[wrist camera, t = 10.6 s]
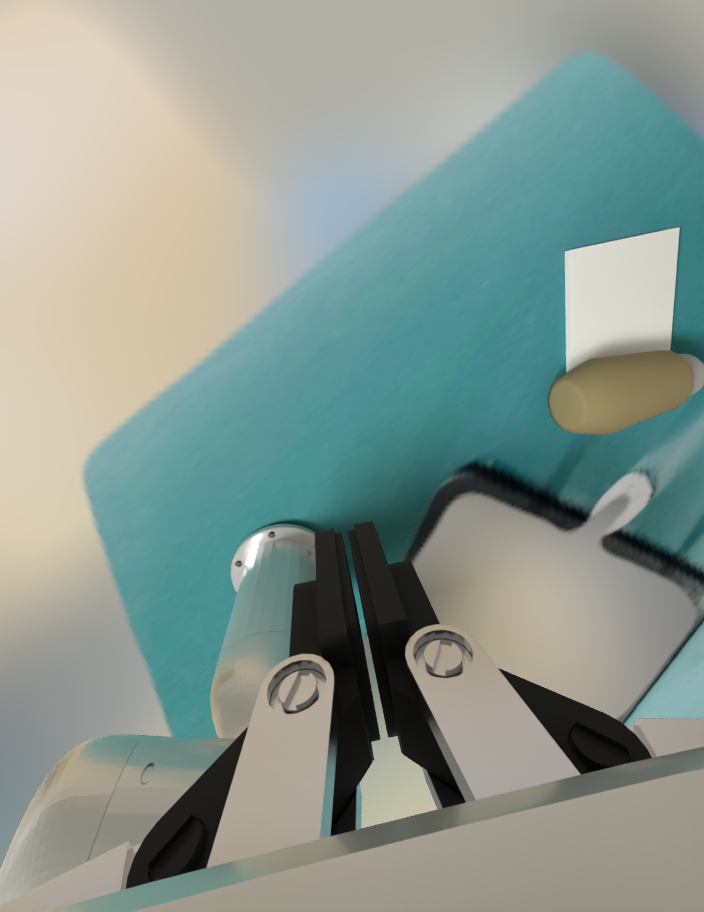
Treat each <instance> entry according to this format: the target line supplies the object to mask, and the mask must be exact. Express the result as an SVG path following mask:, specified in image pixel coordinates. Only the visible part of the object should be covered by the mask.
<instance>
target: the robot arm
mask: <svg viewBox="0 0 704 912" xmlns="http://www.w3.org/2000/svg"><path fill="white" fill-rule="evenodd" d="M354 528H355V530H351V531H348V536H349V541H350V546H351V551H352V556H353V562H354V567H355V572H356V577H357V582H358V588H359V593H360V598H361V603H362V608H363V614H364V619H365V624H366V629H367V634H368V639H369V643H370V649H371V654H372V659H373V664H374V669H375V673H376V679H377V683H378V689H379V693H380V699H381V703H382V708H383V713H384V718H385V724H386V729H387V734H388V737H394V736H398V739H399V744H400V748H401V752H402V753H403V754H404V755H405V756H407V757H408V758H409V759H411V760H412V761H414V762H415V763H417V764H418V765H420V766H421V767H423V772H424V775H425V779H426V782H427V784H428V787H429V789H430V792H431V794H432V797H433V799H434V802H435V804H436V806H437V809H438V810H434V811H430V812H427V813H422V814H418V815H415V816H410V817H406V818H402V819H398V820H394V821H390V822H386V823H383V824H378V825H374V826H370V827H366V828H362V829H361V788H360V781H361V780H362V778H363V776H364V775H365V773H366V772H367V770H368V768H369V767H370V765H371V763H372V760H374V757H373V751H372V745H371V742H372V741H376V740H380V735H379V729H378V723H377V717H376V712H375V707H374V701H373V695H372V690H371V684H370V678H369V673H368V668H367V663H366V656H365V651H364V645H363V640H362V634H361V628H360V623H359V617H358V612H357V607H356V602H355V597H354V592H353V587H352V582H351V577H350V572H349V567H348V561H347V556H346V551H345V546H344V541H343V536H342V532H341V533H336V534H335V533H334V529H330V530H325V531H321V532H314V531H312V530H310V529H308V528H306V527H303V526H300V525H294V524H275V525H270V526H266V527H264V528H261V529H259V530H257V531H255V532H254V533H252V534H250V535H249V536H248V537H247V538H246V539H245V540H244V541H243V542H242V543H241V544H240V546H239V547H238V549H237V551H236V553H235V555H234V558H233V561H232V565H231V578H232V583H233V586H234V588H235V590H236V592H237V596H236V600H235V603H234V607H233V610H232V614H231V617H230V621H229V624H228V628H227V631H226V635H225V639H224V642H223V646H222V649H221V653H220V657H219V660H218V664H217V667H216V671H215V674H214V678H213V683H212V688H211V711H212V718H213V722H214V726H215V729H216V732H217V735H218V738H216V740H215V739H198V738H181V737H163V736H146V735H107V736H102V737H97V738H94V739H92V740H89V741H86V742H84V743H82V744H81V745H79V746H77V747H75V748H74V749H73V750H71V751H70V752H69V753H68V754H67V755H65V756H64V757H63V758H62V759H61V760H60V761H59V763H58V764H57V765H56V766H55V767H54V768H53V769H52V771H51V772H50V773H49V775H48V776H47V777H46V779H45V780H44V782H43V783H42V785H41V786H40V788H39V789H38V791H37V793H36V794H35V796H34V798H33V800H32V801H31V803H30V805H29V807H28V809H27V811H26V813H25V815H24V817H23V819H22V821H21V824H20V825H19V828H18V830H17V832H16V834H15V836H14V838H13V841H12V843H11V845H10V848H9V850H8V853H7V855H6V858H5V860H4V863H3V865H2V868H1V870H0V912H704V719H663V718H635V721H634V725H624V724H622V723H621V722H620V721H618V720H616V719H614V718H612V717H611V716H609V715H607V714H605V713H603V712H600V711H598V710H595V709H593V708H591V707H589V706H586V705H584V704H582V703H579V702H577V701H574V700H572V699H570V698H567V697H565V696H563V695H560V694H558V693H556V692H553V691H551V690H548V689H546V688H544V687H541V686H539V685H537V684H534V683H532V682H529V681H527V680H525V679H523V678H520V677H518V676H516V675H513V674H511V673H508V672H506V671H504V670H501V669H499V668H497V667H496V665H495V664H494V663H493V661H492V660H491V659H490V658H489V656H488V655H487V654H486V653H485V651H484V650H483V649H482V647H481V646H480V645H479V644H478V642H477V641H476V640H475V639H474V638H473V637H472V636H471V635H470V634H469V633H468V632H466V631H464V630H462V629H460V628H458V627H455V626H450V625H443V624H439V621H438V619H437V617H436V615H435V613H434V611H433V608H432V606H431V604H430V602H429V599H428V597H427V595H426V593H425V591H424V589H423V587H422V585H421V582H420V580H419V578H418V576H417V573H416V571H415V569H414V567H413V565H412V563H411V561H410V560H408V561H403V562H398V563H394V564H389V565H388V563H387V561H386V558H385V555H384V552H383V549H382V546H381V544H380V541H379V538H378V535H377V532H376V529H375V527H374V524H373V521H370V522H365V523H360V524H355V525H354ZM271 531H273V532H271Z"/></svg>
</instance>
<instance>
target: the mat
mask: <svg viewBox="0 0 704 912" xmlns="http://www.w3.org/2000/svg"><path fill="white" fill-rule="evenodd" d="M679 230H680V227H678V228H673V229H668V230H664V231H659V232H654V233H649V234H645V235H640V236H635V237H630V238H625V239H621V240H616V241H611V242H606V243H602V244H597V245H592V246H587V247H583V248H578V249H573V250H568V251H565V308H566V373H567V372H569V371H570V370H572V369H573V368H575V367H576V366H578V365H579V364H581V363H583V362H585V361H588V360H590V359H595V358H603V357H610V356H618V355H626V354H633V353H641V352H649V351H657V350H670V348H671V335H672V322H673V309H674V295H675V282H676V269H677V256H678V243H679Z"/></svg>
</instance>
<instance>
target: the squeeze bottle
mask: <svg viewBox="0 0 704 912" xmlns="http://www.w3.org/2000/svg"><path fill="white" fill-rule="evenodd" d="M703 384H704V362H701V361H700V360H699V359H698V358H697V357H695V356H692V355H690V354H677V353H675V352H673V351H671V350H657V351H649V352H641V353H633V354H626V355H618V356H610V357H603V358H595V359H590V360H588V361H585V362H583V363H581V364H579V365H578V366H576V367H575V368H573V369H572V370H570V371H569V372H567V373H566V374H564V375H563V376H561V377H560V378H558V379H557V380H555V382H554V383H553V384H552V386H551V387H550V390H549V394H548V407H549V410H550V414H551V417H552V418H553V420H554V421H555V423H556V424H557V425H558V426H559V427H560V428H561V429H562V430H564V431H567V432H570V433H579V434H592V435H606V434H611V433H615V432H617V431H620V430H623V429H625V428H628V427H630V426H633V425H635V424H638V423H640V422H643V421H645V420H648V419H650V418H653V417H655V416H658V415H660V414H663V413H665V412H668V411H670V410H673V409H675V408H678V407H679V406H680V405H682V404H683V403H684V402H686V401H687V400H688V398H689V396H690V395H693V394H695V393H696V392H697V391H699V390H700V389H701V388H702V386H703Z"/></svg>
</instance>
